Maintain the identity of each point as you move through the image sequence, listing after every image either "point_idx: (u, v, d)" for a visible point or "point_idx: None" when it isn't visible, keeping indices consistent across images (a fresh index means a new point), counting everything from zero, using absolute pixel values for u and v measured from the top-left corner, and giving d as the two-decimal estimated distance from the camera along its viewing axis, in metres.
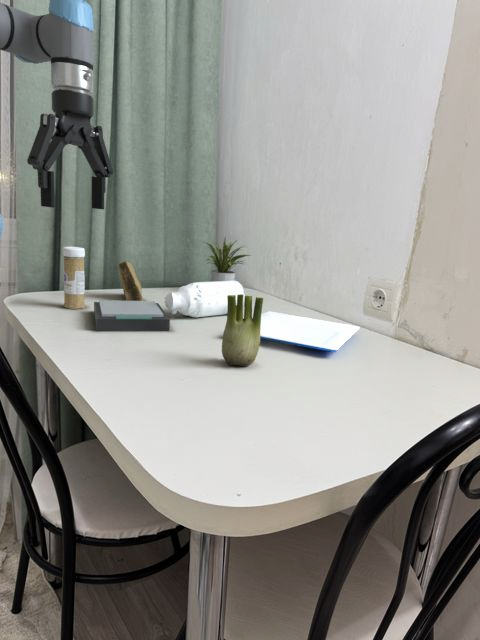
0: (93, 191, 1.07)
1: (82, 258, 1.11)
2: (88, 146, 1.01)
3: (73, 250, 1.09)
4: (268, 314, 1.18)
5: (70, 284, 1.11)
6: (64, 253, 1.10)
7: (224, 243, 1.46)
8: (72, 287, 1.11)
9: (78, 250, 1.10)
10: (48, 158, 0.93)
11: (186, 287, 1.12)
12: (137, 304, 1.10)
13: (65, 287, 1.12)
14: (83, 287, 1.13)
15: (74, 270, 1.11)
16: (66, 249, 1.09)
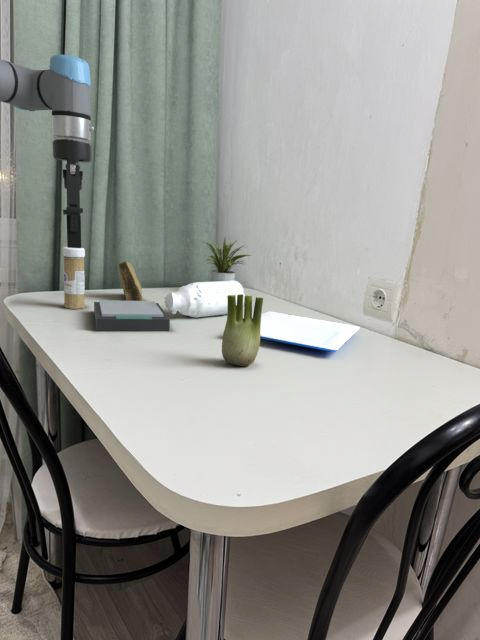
0: None
1: (82, 258, 1.11)
2: None
3: (73, 250, 1.09)
4: (268, 314, 1.18)
5: (70, 284, 1.11)
6: (64, 253, 1.10)
7: (224, 243, 1.46)
8: (72, 287, 1.11)
9: (78, 250, 1.10)
10: None
11: (186, 287, 1.12)
12: (137, 304, 1.10)
13: (65, 287, 1.12)
14: (83, 287, 1.13)
15: (74, 270, 1.11)
16: (66, 249, 1.09)
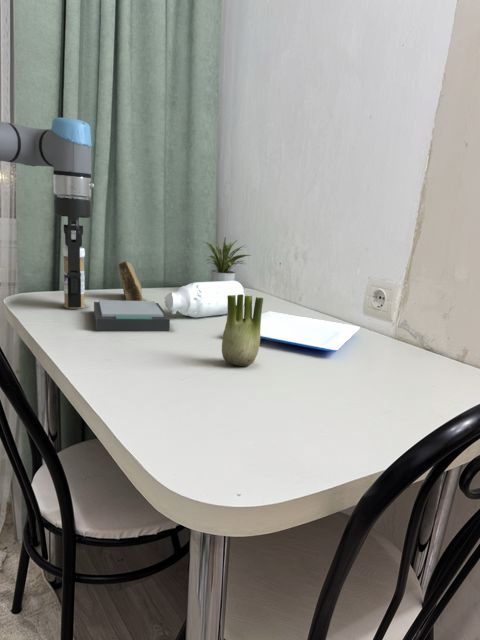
0: None
1: (82, 258, 1.11)
2: None
3: None
4: (268, 314, 1.18)
5: None
6: (64, 253, 1.10)
7: (224, 243, 1.46)
8: None
9: None
10: None
11: (186, 287, 1.12)
12: (137, 304, 1.10)
13: (65, 287, 1.12)
14: (83, 287, 1.13)
15: None
16: (66, 249, 1.09)
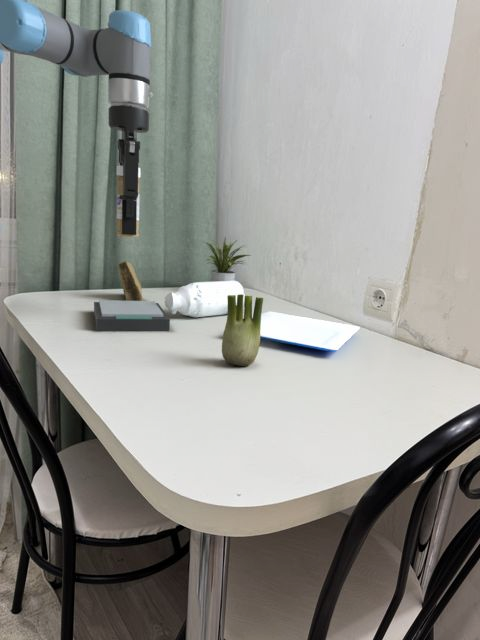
0: None
1: (138, 179, 0.99)
2: None
3: None
4: (268, 314, 1.18)
5: None
6: (119, 172, 0.98)
7: (224, 243, 1.46)
8: None
9: None
10: None
11: (186, 287, 1.12)
12: (137, 304, 1.10)
13: (119, 212, 1.00)
14: (138, 213, 1.01)
15: None
16: (121, 167, 0.97)
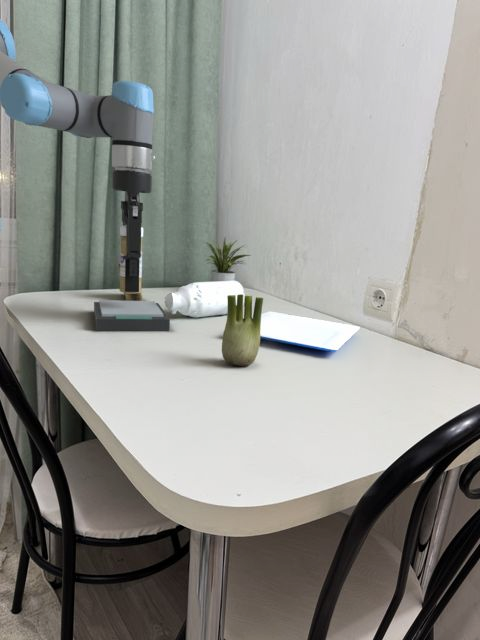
0: None
1: (141, 238, 1.02)
2: None
3: None
4: (268, 314, 1.18)
5: None
6: (122, 232, 1.00)
7: (224, 243, 1.46)
8: None
9: None
10: None
11: (186, 287, 1.12)
12: (137, 304, 1.10)
13: (122, 270, 1.02)
14: (141, 270, 1.04)
15: None
16: (124, 228, 1.00)
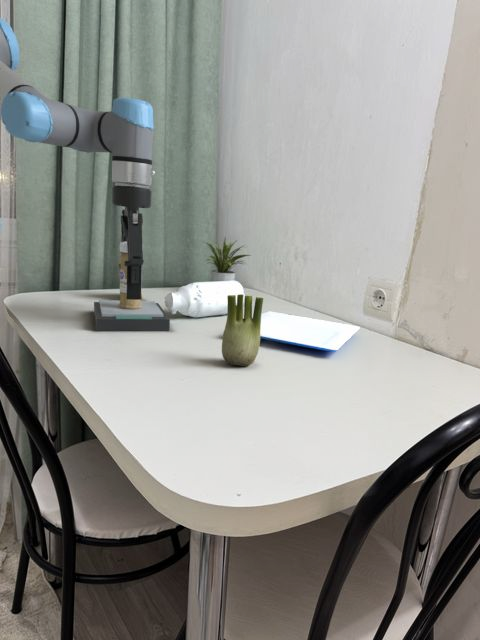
0: None
1: None
2: None
3: None
4: (268, 314, 1.18)
5: None
6: (122, 248, 1.01)
7: (224, 243, 1.46)
8: None
9: None
10: None
11: (186, 287, 1.12)
12: None
13: (121, 285, 1.03)
14: None
15: None
16: (124, 244, 1.01)
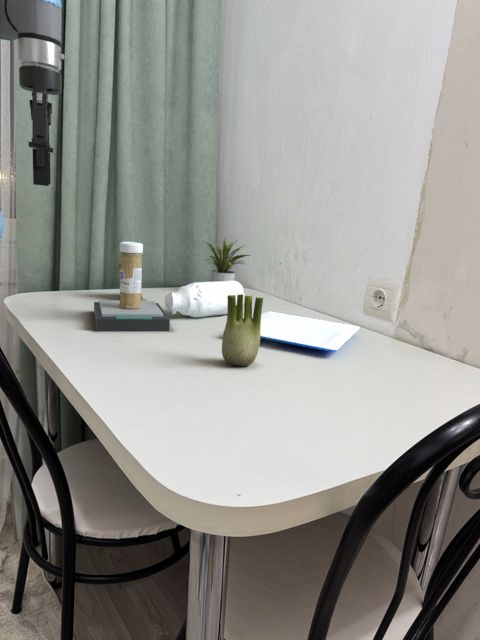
0: None
1: (140, 254, 1.03)
2: (48, 122, 1.03)
3: (132, 245, 1.01)
4: (268, 314, 1.18)
5: (128, 282, 1.03)
6: (122, 248, 1.01)
7: (224, 243, 1.46)
8: (129, 285, 1.03)
9: (137, 245, 1.01)
10: None
11: (186, 287, 1.12)
12: None
13: (121, 285, 1.03)
14: (140, 285, 1.05)
15: (132, 267, 1.02)
16: (124, 244, 1.01)
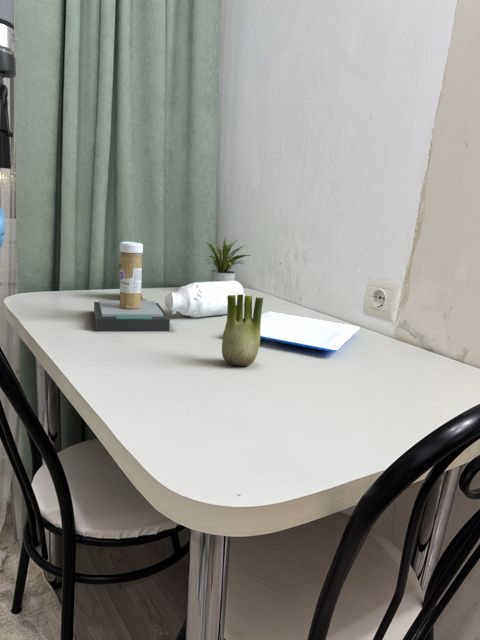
0: None
1: (140, 254, 1.03)
2: (4, 106, 1.03)
3: (132, 245, 1.01)
4: (268, 314, 1.18)
5: (128, 282, 1.03)
6: (122, 248, 1.01)
7: (224, 243, 1.46)
8: (129, 285, 1.03)
9: (137, 245, 1.01)
10: None
11: (186, 287, 1.12)
12: None
13: (121, 285, 1.03)
14: (140, 285, 1.05)
15: (132, 267, 1.02)
16: (124, 244, 1.01)
